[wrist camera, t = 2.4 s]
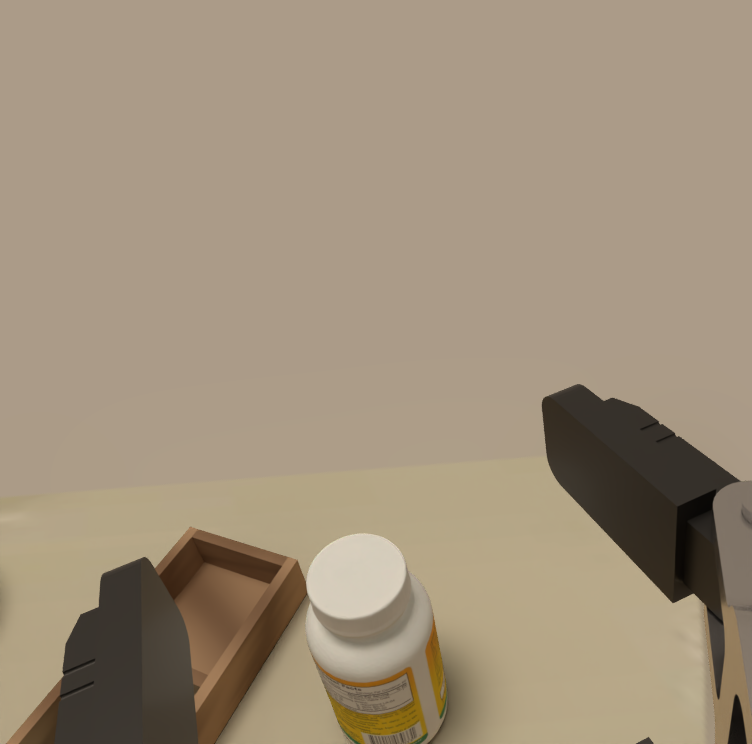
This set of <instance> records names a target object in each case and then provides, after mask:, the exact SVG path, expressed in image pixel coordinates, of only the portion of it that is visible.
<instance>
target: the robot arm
mask: <svg viewBox="0 0 752 744" xmlns="http://www.w3.org/2000/svg"><path fill="white" fill-rule="evenodd" d="M542 412H543V422H544V432H545V443H546V453H547V459H548V463H549V466H550V468H551V470H552V473H553V474H554V476H555V478H556V479H557V481H558V482H559V484H560V485H561V486H562V487H563V488H564V489H565V490H566V491H567V492H568V493H569V494H570V495H571V497H572V498H573V499H574V500H575V501H576V502H577V503H578V504H579V505H580V506H581V507H582V508H583V509H584V510H585V511H586V512H587V513H588V514H589V515H590V517H591V518H592V519H593V520H594V521H595V522H596V523H597V524H598V525H599V526H600V527H601V528H602V529H603V530H604V531H605V532H606V533H607V534H608V535H609V536H610V538H611V539H612V540H613V541H614V542H615V543H616V544H617V545H618V546H619V547H620V548H621V549H622V550H623V551H624V552H625V553H626V554H627V555H628V556H629V558H630V559H631V560H632V561H633V562H634V563H635V564H636V565H637V566H638V567H639V568H640V569H641V570H642V571H643V572H644V573H645V574H646V575H647V576H648V578H649V579H650V580H651V581H652V582H653V583H654V584H655V585H656V586H657V587H658V588H659V589H660V590H661V591H662V592H663V593H664V594H665V595H666V596H667V598H668V599H669V600H670V601H671V602H672V603H675V602H677V601H679V600H681V599H683V598H685V597H687V596H689V595H691V594H693V593H694V594H695V595H696V596H697V597H698V598H699V599H700V600H701V601H702V602H703V603H704V622H705V631H706V640H707V649H708V657H709V666H710V676H711V685H712V694H713V704H714V714H715V744H752V481H739V480H738V479H737V478H735V477H734V476H733V475H731V474H730V473H729V472H727V471H725V470H724V469H723V468H722V467H720V466H719V465H717V464H716V463H715V462H714V461H712V460H711V459H709V458H708V457H707V456H705V455H704V454H703V453H701V452H700V451H698V450H697V449H696V448H694V447H693V446H692V445H690V444H689V443H688V442H686V441H685V440H684V439H682V438H681V437H679V436H678V437H676V435H675V433H674V432H672V431H671V430H670V429H668V428H667V427H666V426H664V425H663V424H661V425H660V424H659V421H657V420H656V419H655V418H653V417H652V416H651V415H649V414H648V413H647V412H645V411H644V410H643V409H641V408H640V407H638V406H635V405H632V404H629V403H626V402H624V401H621V400H618V399H615V398H610V399H608V400H606V401H603V400H601V399H600V398H599V397H598V396H596V395H595V394H594V393H592V392H591V391H590V390H589V389H587V388H586V387H584V386H583V385H580V384H577V385H574V386H572V387H569V388H567V389H564V390H562V391H559V392H557V393H554V394H552V395H549V396H547V397H545V398H544V399H543V401H542ZM63 674H64V677H62V681H61V689H60V697H61V701H59V706H58V715H57V724H56V732H55V741H54V744H198V733H197V721H196V710H195V699H194V688H193V676H192V665H191V654H190V643H189V637H188V632H187V629H186V625H185V622H184V620H183V617H182V615H181V612H180V610H179V609H178V607H177V605H176V604H175V602H174V600H173V599H172V597H171V595H170V594H169V592H168V590H167V588H166V587H165V585H164V583H163V582H162V580H161V578H160V577H159V575H158V573H157V572H156V570H155V568H154V567H153V565H152V564H151V562H150V561H149V560H148V559H147V558H146V557H143V558H141V559H138V560H136V561H133V562H131V563H128V564H126V565H123V566H121V567H118V568H116V569H113V570H111V571H108V572H106V573H104V574H103V575H102V577H101V581H100V596H99V607H98V608H95V609H93V610H91V611H88V612H86V613H83V614H81V615H80V617H79V619H78V621H77V623H76V625H75V627H74V629H73V631H72V633H71V635H70V637H69V639H68V640H67V642H66V646H65V655H64V663H63ZM636 744H653V742H652V741H651V739H650V738H649V737H648V738H646V739H644V740H642V741H640V742H638V743H636Z"/></svg>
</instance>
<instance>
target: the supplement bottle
mask: <svg viewBox="0 0 752 744" xmlns="http://www.w3.org/2000/svg"><path fill="white" fill-rule="evenodd" d="M306 587H307V593H308V597H309V600H310V605H309V607H308V611H307V616H306V624H305V630H306V638H307V642H308V646H309V649H310V652H311V654H312V657H313V659H314V662H315V664H316V667H317V669H318V672H319V674H320V677H321V679H322V682H323V684H324V686H325V689H326V692H327V694H328V697H329V699H330V702H331V704H332V707H333V710H334V712H335V715H336V717H337V720H338V722H339V724H340V727H341V729H342V731H343V733H344V734H345V736H346V737H347V738H348V739H349V741H350V742H351V743H352V744H427V743H428V742H429V741H430V740H431V739H432V738H433V737H434V736H435V734H436V733H437V732H438V730H439V728H440V726H441V724H442V722H443V720H444V718H445V714H446V710H447V696H448V695H447V686H446V679H445V675H444V669H443V664H442V658H441V653H440V648H439V642H438V637H437V632H436V627H435V621H434V616H433V610H432V606H431V602H430V599H429V596H428V594H427V591H426V590H425V588H424V586H423V585H422V583H421V582H420V581H419V580H418V579H417V578H416V577H415V575H413V574H412V573H411V572H409V571H408V569H407V565H406V562H405V558H404V556H403V554H402V553H401V551H400V550H399V549H398V547H397V546H396V545H395V544H393V543H392V542H391V541H389V540H387V539H386V538H383V537H381V536H378V535H373V534H364V533H360V534H353V535H348V536H345V537H342V538H339V539H337V540H335V541H333V542H332V543H330V544H328V545H327V546H326V547H325V548H323V549H322V550H321V551H320V552H319V553H318V555H317V556H316V557H315V558H314V560H313V561H312V563H311V565H310V568H309V570H308V574H307V580H306Z"/></svg>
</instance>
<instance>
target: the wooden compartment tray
mask: <svg viewBox="0 0 752 744" xmlns="http://www.w3.org/2000/svg"><path fill="white" fill-rule="evenodd" d="M155 570H156V572H157V573H158V575H159V577H160V578H161V580H162V582H163V583H164V585H165V587H166V588H167V590H168V592H169V594H170V595H171V597H172V599H173V600H174V602H175V604H176V605H177V607H178V609H179V610H180V612H181V615H182V617H183V620H184V622H185V625H186V629H187V632H188V637H189V643H190V654H191V665H192V676H193V688H194V699H195V710H196V721H197V733H198V744H214V743H215V741H216V740H217V738H218V737H219V735H220V733H221V732H222V730H223V729H224V727H225V725H226V724H227V722H228V720H229V719H230V717H231V716H232V714H233V712H234V711H235V709H236V707H237V706H238V704H239V703H240V701H241V699H242V698H243V696H244V695H245V693H246V691H247V690H248V688H249V686H250V685H251V683H252V682H253V680H254V678H255V677H256V675H257V673H258V672H259V670H260V669H261V667H262V665H263V664H264V662H265V661H266V659H267V657H268V656H269V654H270V652H271V651H272V649H273V648H274V646H275V644H276V643H277V641H278V639H279V638H280V636H281V635H282V633H283V631H284V630H285V628H286V627H287V625H288V623H289V622H290V620H291V618H292V617H293V615H294V614H295V612H296V610H297V609H298V607H299V606H300V604H301V602H302V601H303V599H304V597H305V596H306V594H307V587H306V582H305V579H304V577H303V574H302V571H301V569H300V566H299V563H298V561H297V560H296V559H292V558H289V557H286V556H283V555H279V554H276V553H273V552H270V551H266V550H263V549H260V548H257V547H253V546H250V545H247V544H244V543H240V542H237V541H234V540H231V539H227V538H224V537H221V536H218V535H215V534H211V533H208V532H205V531H202V530H198V529H195V528H192V527H190V528H189V529H188V530H187V531H186V533H185V534H184V535H183V536H182V537H181V538H180V540H179V541H178V542H177V543H176V544H175V546H174V547H173V548H172V549H171V550H170V551H169V553H168V554H167V555H166V556H165V557H164V558H163V560H162V561H161V562H160V563H159V564H158V566H157V567H156V568H155ZM63 677H64V676H63ZM61 681H62V678H61V680H60V681H59V682H58V683H57V684H56V685H55V687H54V688H53V689H52V690H51V691H50V693H49V694H48V695H47V696H46V697H45V698H44V700H43V701H42V702H41V703H40V704H39V705H38V707H37V708H36V709H35V710H34V711H33V713H32V714H31V715H30V716H29V717H28V718H27V720H26V721H25V722H24V723H23V724H22V725H21V727H20V728H19V729H18V730H17V731H16V733H15V734H14V735H13V736H12V737H11V738H10V740H9V741H8V742H7V743H6V744H54V741H55V732H56V724H57V715H58V706H59V701H61V697H60V689H61Z"/></svg>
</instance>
